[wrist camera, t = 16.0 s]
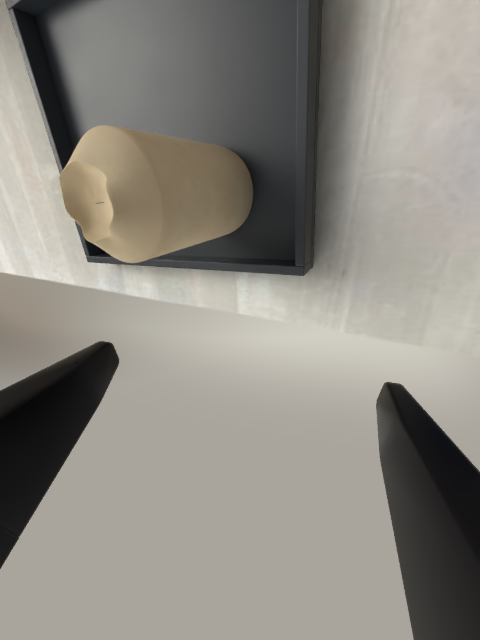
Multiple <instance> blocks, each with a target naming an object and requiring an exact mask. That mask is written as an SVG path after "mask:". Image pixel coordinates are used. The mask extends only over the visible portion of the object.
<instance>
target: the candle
mask: <svg viewBox="0 0 480 640" xmlns="http://www.w3.org/2000/svg"><path fill="white" fill-rule="evenodd" d="M60 185H61V189H62V194H63V200H64V204H65V208H66V210H67V212H68V214H69V215H70V217H72V218H73V219H74V220H75V221H76V222H77V223H78V224H79V225H80V226H81V229H82V232H83V236H84V238H85V239H86V240H87V241H89V242H91V243H93V244H94V245H96V246H98V247H99V248H101V249H102V250H104V251H105V252H107V253H108V254H110V255H111V256H113V257H114V258H116V259H118V260H120V261H123V262H127V263H139V262H142V261H146V260H149V259H152V258H155V257H158V256H161V255H164V254H168V253H171V252H174V251H177V250H180V249H183V248H186V247H190V246H193V245H196V244H199V243H202V242H205V241H208V240H212V239H215V238H218V237H221V236H224V235H227V234H229V233H232V232H233V231H235V230H236V229H238V228H239V227H240V226H241V225H242V224H243V223H244V221H245V220H246V219H247V217H248V215H249V212H250V210H251V206H252V202H253V184H252V179H251V176H250V173H249V171H248V168H247V167H246V165H245V163H244V162H243V160H242V159H241V158H240V157H239V156H238V155H237V154H236V153H234V152H233V151H231V150H229V149H228V148H225V147H222V146H219V145H214V144H209V143H203V142H198V141H192V140H187V139H181V138H176V137H170V136H165V135H159V134H153V133H148V132H142V131H137V130H131V129H126V128H120V127H115V126H108V125H100V126H96V127H93V128H91V129H90V130H88V131H87V132H86V133H85V134H84V135H83V137H82V138H81V140H80V141H79V143H78V144H77V146H76V148H75V150H74V152H73V154H72V156H71V158H70V160H69V161H68V163H67V165H66V166H65V168H64V169H63V170H62V172H61V174H60Z"/></svg>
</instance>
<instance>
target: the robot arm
mask: <svg viewBox="0 0 480 640" xmlns="http://www.w3.org/2000/svg"><path fill="white" fill-rule="evenodd" d="M118 364H119V358H118V355H117V353H116V350H115V348H114V346H113V344H112V343H110V342H104V341H100V342H97V343H95V344H93V345H91V346H90V347H87V348H85V349H83V350H81V351H79V352H77V353H75V354H73V355H71V356H69V357H67V358H65V359H63V360H61V361H59V362H57V363H55V364H53V365H51V366H49V367H47V368H45V369H43V370H41V371H39V372H37V373H35V374H33V375H31V376H29V377H27V378H25V379H23V380H21V381H19V382H17V383H15V384H13V385H11V386H9V387H7V388H5V389H3V390H1V391H0V569H1V567H2V565H3V563H4V562H5V560H6V559H7V557H8V555H9V554H10V552H11V550H12V549H13V547H14V545H15V544H16V542H17V540H18V539H19V536H20V535H21V533H22V532H23V530H24V528H25V527H26V525H27V523H28V522H29V520H30V518H31V517H32V515H33V514H34V512H35V510H36V509H37V507H38V505H39V504H40V502H41V500H42V499H43V497H44V495H45V494H46V492H47V490H48V489H49V487H50V486H51V484H52V482H53V481H54V479H55V477H56V476H57V474H58V472H59V470H60V469H61V467H62V466H63V464H64V462H65V461H66V459H67V457H68V456H69V454H70V452H71V450H72V449H73V447H74V446H75V444H76V442H77V441H78V439H79V437H80V436H81V434H82V432H83V431H84V429H85V428H86V426H87V424H88V423H89V421H90V419H91V418H92V416H93V414H94V413H95V411H96V409H97V408H98V406H99V404H100V402H101V400H102V398H103V396H104V394H105V392H106V390H107V388H108V386H109V384H110V382H111V380H112V378H113V375H114V373H115V371H116V369H117V367H118ZM376 409H377V424H378V438H379V452H380V461H381V467H382V472H383V478H384V483H385V488H386V494H387V499H388V504H389V509H390V515H391V520H392V526H393V530H394V536H395V541H396V547H397V552H398V557H399V562H400V568H401V574H402V579H403V584H404V589H405V595H406V600H407V605H408V610H409V616H410V621H411V627H412V632H413V638H414V640H480V472H479V470H478V469H477V468H476V467H475V466H474V465H473V464H472V463H471V462H470V461H469V459H468V458H467V457H466V456H465V455H464V454H463V453H462V451H461V450H460V449H459V448H458V447H457V446H456V445H455V444H454V442H453V441H452V440H451V439H450V438H449V437H448V436H447V435H446V434H445V432H444V431H443V430H442V429H441V428H440V427H439V426H438V425H437V423H436V422H435V421H434V420H433V419H432V418H431V417H430V416H429V415H428V413H427V412H426V411H425V410H424V409H423V408H422V407H421V406H420V405H419V403H418V402H417V401H416V400H415V399H414V398H413V397H412V395H411V394H410V393H409V392H408V391H407V390H406V389H405V388H404V386H402V385H401V384H398V383H390V382H386V383H384V385H383V387H382V389H381V392H380V394H379V397H378V399H377V404H376Z"/></svg>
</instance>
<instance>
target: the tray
mask: <svg viewBox="0 0 480 640" xmlns="http://www.w3.org/2000/svg"><path fill="white" fill-rule="evenodd" d="M5 2H6V5H7V8H8V10H9V14H10V17H11V21H12V24H13V27H14V30H15V33H16V36H17V39H18V43H19V46H20V49H21V52H22V55H23V58H24V62H25V65H26V68H27V71H28V74H29V77H30V81H31V84H32V87H33V90H34V93H35V96H36V100H37V103H38V106H39V109H40V112H41V115H42V119H43V122H44V125H45V128H46V131H47V134H48V138H49V141H50V144H51V147H52V150H53V153H54V157H55V160H56V163H57V166H58V169H59V172H60V174H61V172H62V170H63V169H64V168H65V166H66V165H67V163H68V161H69V160H70V158H71V156H72V154H73V152H74V150H75V148H76V146H77V144H78V143H79V141H80V140H81V138H82V137H83V135H84V134H85V133H86V132H87V131H88V130H90V129H91V128H93V127H96V126H100V125H108V126H115V127H120V128H126V129H131V130H137V131H142V132H148V133H153V134H159V135H165V136H170V137H176V138H181V139H187V140H192V141H198V142H203V143H209V144H214V145H219V146H222V147H225V148H228V149H229V150H231V151H233V152H234V153H236V154H237V155H238V156H239V157H240V158H241V159H242V160H243V162H244V163H245V165H246V167H247V168H248V171H249V173H250V176H251V179H252V184H253V202H252V206H251V210H250V212H249V215H248V217H247V219H246V220H245V221H244V223H243V224H242V225H241V226H240V227H239V228H238V229H236V230H235V231H233V232H232V233H229V234H227V235H224V236H221V237H218V238H215V239H212V240H208V241H205V242H202V243H199V244H196V245H193V246H190V247H186V248H183V249H180V250H177V251H174V252H171V253H168V254H164V255H161V256H158V257H155V258H152V259H149V260H146V261H142V262H139V263H127V262H123V261H120V260H118V259H116V258H114V257H113V256H111V255H110V254H108V253H107V252H105V251H104V250H102V249H101V248H99V247H98V246H96V245H94V244H93V243H91V242H89V241H87V240H86V239H85V238H84V236H83V232H82V229H81V226H80V225H79V224H78V223H77V222H76V221H75V223H76V226H77V229H78V232H79V236H80V239H81V242H82V245H83V248H84V251H85V255H86V258H87V261H88V262H94V263H110V264H125V265H141V266H157V267H173V268H188V269H204V270H220V271H236V272H251V273H267V274H283V275H299V276H304V275H305V274H306V273H307V272H308V271H309V270H310V269H311V268H312V267H313V249H314V220H315V192H316V163H317V135H318V106H319V78H320V50H321V21H322V0H5Z"/></svg>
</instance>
